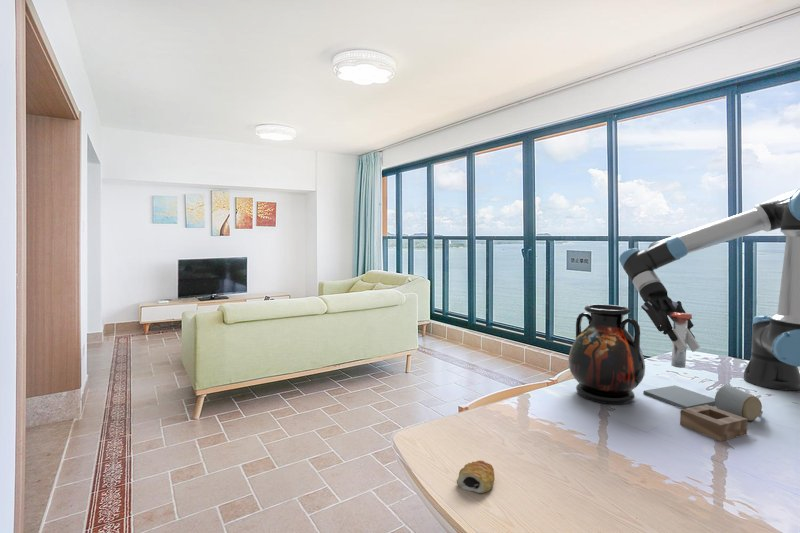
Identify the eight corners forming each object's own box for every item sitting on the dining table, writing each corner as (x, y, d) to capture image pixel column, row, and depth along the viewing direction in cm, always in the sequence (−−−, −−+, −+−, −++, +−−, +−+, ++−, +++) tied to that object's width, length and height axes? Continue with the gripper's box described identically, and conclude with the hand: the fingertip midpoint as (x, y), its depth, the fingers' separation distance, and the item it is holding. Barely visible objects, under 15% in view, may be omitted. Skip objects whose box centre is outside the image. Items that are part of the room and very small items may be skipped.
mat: (674, 388, 140) (674, 385, 140) (719, 403, 127) (719, 400, 127) (643, 393, 135) (643, 390, 135) (686, 410, 122) (686, 406, 122)
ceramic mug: (743, 424, 112) (745, 395, 112) (713, 412, 120) (714, 385, 120) (772, 420, 116) (773, 392, 115) (740, 408, 123) (742, 382, 123)
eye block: (705, 418, 116) (706, 404, 116) (746, 434, 106) (747, 418, 106) (680, 424, 112) (680, 409, 112) (719, 441, 103) (720, 425, 103)
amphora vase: (554, 394, 134) (556, 306, 132) (586, 379, 148) (588, 300, 147) (627, 415, 118) (630, 315, 116) (654, 396, 132) (658, 307, 130)
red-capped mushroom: (675, 362, 134) (678, 311, 133) (693, 367, 129) (696, 314, 128) (663, 364, 132) (665, 312, 131) (680, 369, 127) (683, 316, 126)
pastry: (470, 466, 92) (470, 449, 92) (501, 474, 89) (501, 457, 88) (454, 488, 84) (455, 470, 83) (488, 499, 80) (488, 479, 80)
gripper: (665, 294, 146) (705, 354, 131) (622, 295, 143) (658, 357, 128) (678, 280, 140) (722, 341, 125) (634, 281, 137) (673, 344, 122)
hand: (690, 349), depth 126 cm, fingers closed on red-capped mushroom, 3 cm apart
